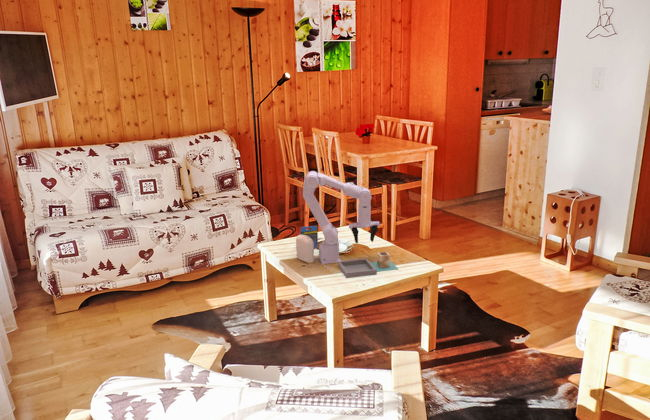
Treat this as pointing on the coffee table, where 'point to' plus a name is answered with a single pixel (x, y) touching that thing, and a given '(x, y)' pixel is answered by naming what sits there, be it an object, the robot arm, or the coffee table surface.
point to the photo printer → (305, 248)
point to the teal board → (391, 267)
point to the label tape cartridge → (310, 234)
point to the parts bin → (357, 268)
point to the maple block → (383, 259)
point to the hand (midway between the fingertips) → (364, 241)
